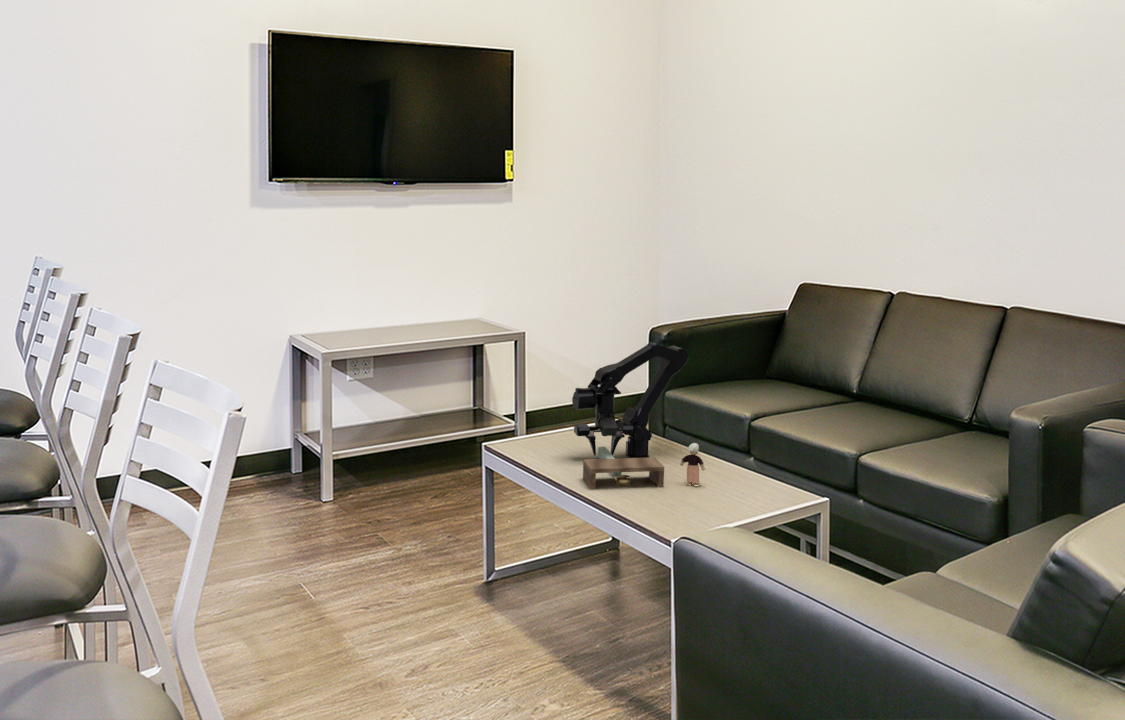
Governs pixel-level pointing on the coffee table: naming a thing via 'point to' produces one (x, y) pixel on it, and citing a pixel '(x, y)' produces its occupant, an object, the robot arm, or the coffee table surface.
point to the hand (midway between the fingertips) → (603, 455)
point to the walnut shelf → (622, 468)
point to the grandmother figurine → (693, 464)
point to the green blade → (606, 457)
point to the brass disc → (622, 479)
